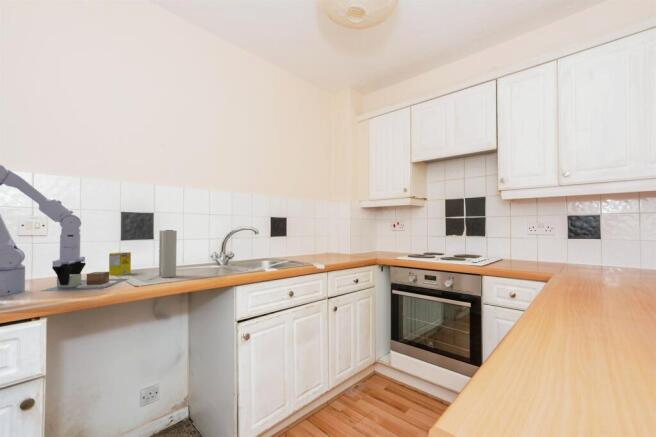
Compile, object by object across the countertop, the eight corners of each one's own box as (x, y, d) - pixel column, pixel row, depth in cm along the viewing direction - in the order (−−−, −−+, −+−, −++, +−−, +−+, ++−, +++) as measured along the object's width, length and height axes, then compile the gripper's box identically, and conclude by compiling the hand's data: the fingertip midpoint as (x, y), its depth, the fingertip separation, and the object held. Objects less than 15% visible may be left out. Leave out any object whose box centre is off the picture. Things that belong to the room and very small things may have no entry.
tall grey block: (177, 276, 137) (178, 230, 137) (163, 278, 133) (163, 230, 133) (173, 274, 142) (173, 229, 142) (158, 276, 138) (159, 230, 138)
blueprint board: (101, 292, 106) (102, 287, 106) (40, 294, 102) (40, 289, 102) (130, 280, 126) (130, 277, 126) (79, 282, 123) (79, 278, 123)
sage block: (72, 287, 109) (72, 276, 109) (56, 287, 108) (57, 276, 108) (81, 284, 114) (81, 273, 114) (66, 284, 113) (66, 274, 113)
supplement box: (130, 275, 140) (131, 252, 140) (120, 277, 134) (121, 253, 134) (119, 275, 141) (119, 252, 141) (108, 277, 135) (109, 253, 135)
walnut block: (101, 284, 111) (101, 273, 111) (86, 285, 110) (86, 274, 110) (109, 282, 116) (109, 271, 116) (94, 282, 115) (94, 272, 115)
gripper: (69, 248, 105) (68, 287, 105) (93, 245, 119) (93, 279, 119) (45, 248, 104) (45, 287, 103) (73, 245, 118) (73, 280, 118)
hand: (69, 283), depth 111 cm, fingers closed on sage block, 5 cm apart
